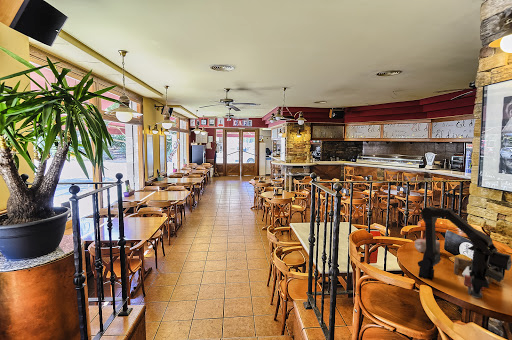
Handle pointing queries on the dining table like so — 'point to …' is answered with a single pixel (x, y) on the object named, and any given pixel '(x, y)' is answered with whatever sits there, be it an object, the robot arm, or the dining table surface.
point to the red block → (468, 283)
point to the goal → (464, 266)
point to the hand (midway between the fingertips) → (476, 291)
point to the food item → (421, 245)
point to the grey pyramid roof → (466, 272)
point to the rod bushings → (470, 291)
